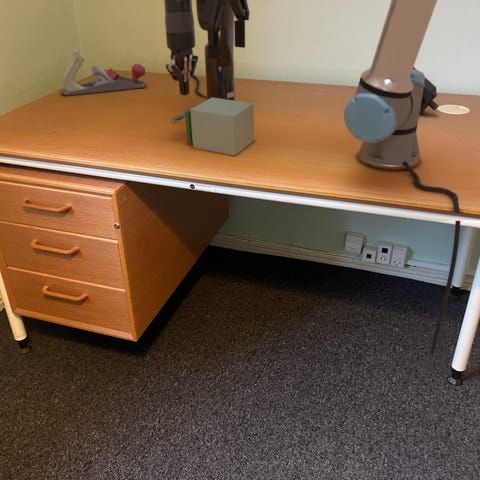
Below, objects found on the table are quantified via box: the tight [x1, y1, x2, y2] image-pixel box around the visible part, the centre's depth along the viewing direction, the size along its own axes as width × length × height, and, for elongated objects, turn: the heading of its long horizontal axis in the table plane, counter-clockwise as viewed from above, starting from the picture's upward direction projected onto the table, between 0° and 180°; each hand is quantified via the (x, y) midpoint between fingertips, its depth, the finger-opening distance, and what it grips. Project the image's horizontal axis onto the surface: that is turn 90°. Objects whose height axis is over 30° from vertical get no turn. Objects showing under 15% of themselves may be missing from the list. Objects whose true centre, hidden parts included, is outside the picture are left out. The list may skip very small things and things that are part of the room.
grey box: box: [189, 98, 255, 156], centre depth 147 cm, size 13×12×11 cm
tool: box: [413, 66, 439, 113], centre depth 169 cm, size 6×19×15 cm, turn 51°
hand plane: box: [61, 48, 146, 96], centre depth 194 cm, size 7×31×15 cm, turn 107°
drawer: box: [169, 100, 206, 144], centre depth 149 cm, size 18×10×9 cm, turn 62°
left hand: (184, 94), depth 148 cm, fingers closed
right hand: (227, 52), depth 136 cm, fingers open, 13 cm apart
